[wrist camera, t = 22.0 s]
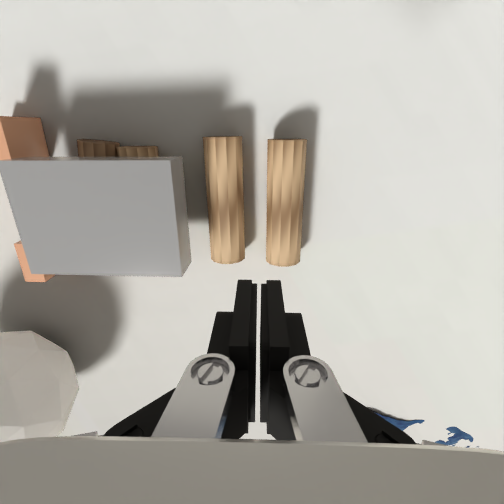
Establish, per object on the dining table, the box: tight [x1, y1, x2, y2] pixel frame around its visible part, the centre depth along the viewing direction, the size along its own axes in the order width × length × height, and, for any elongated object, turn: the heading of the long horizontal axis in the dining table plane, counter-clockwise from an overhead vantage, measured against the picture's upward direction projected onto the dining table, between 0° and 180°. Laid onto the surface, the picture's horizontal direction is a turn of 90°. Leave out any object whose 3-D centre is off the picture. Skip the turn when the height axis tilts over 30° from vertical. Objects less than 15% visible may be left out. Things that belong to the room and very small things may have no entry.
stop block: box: [0, 116, 56, 282], centre depth 30 cm, size 15×3×5 cm, turn 0°
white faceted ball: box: [0, 330, 79, 442], centre depth 34 cm, size 14×15×15 cm
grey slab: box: [0, 156, 191, 277], centre depth 27 cm, size 10×14×4 cm
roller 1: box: [77, 139, 120, 157], centre depth 31 cm, size 12×4×4 cm, turn 173°
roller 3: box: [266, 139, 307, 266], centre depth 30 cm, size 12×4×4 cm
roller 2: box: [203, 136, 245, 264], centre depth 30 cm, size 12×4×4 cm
